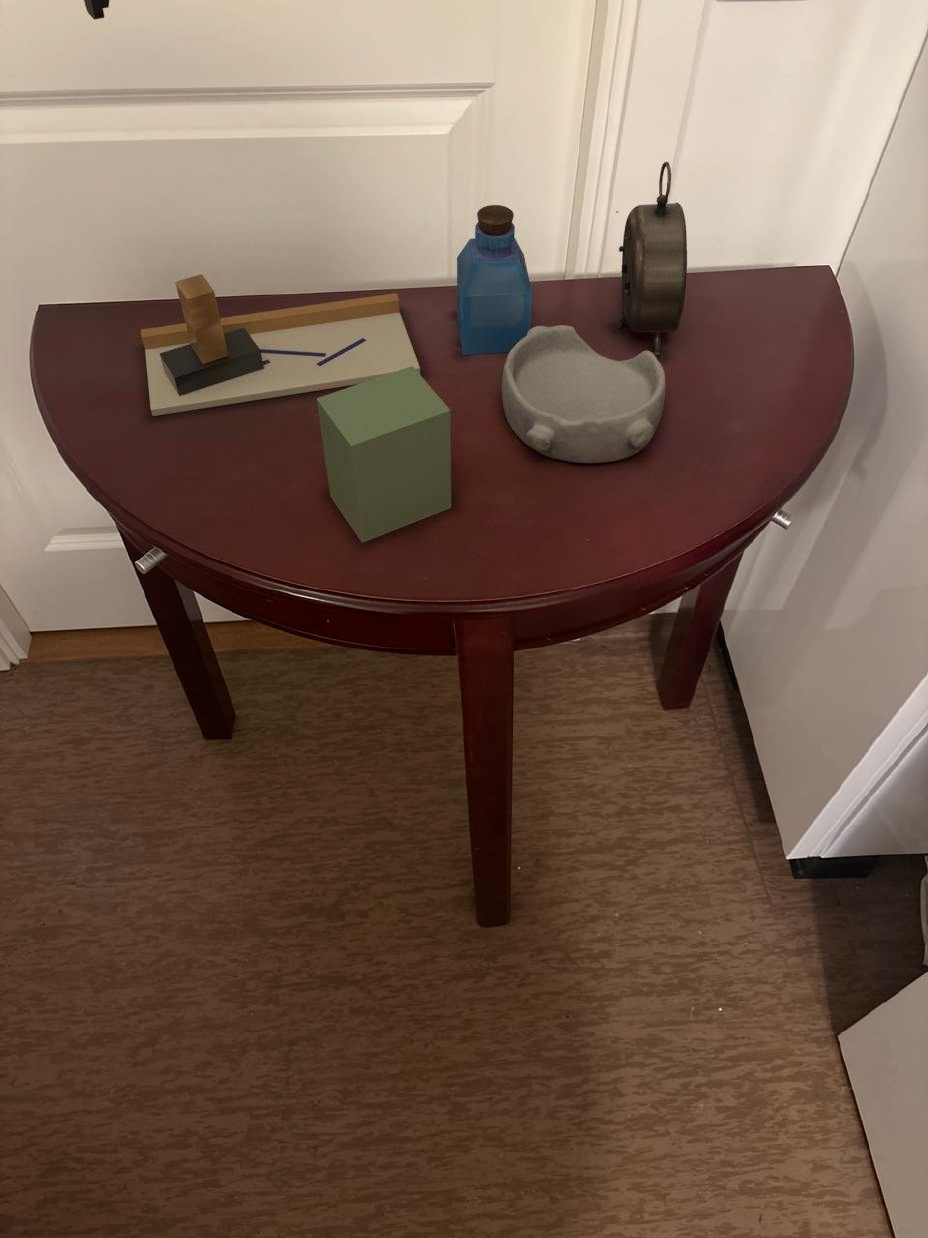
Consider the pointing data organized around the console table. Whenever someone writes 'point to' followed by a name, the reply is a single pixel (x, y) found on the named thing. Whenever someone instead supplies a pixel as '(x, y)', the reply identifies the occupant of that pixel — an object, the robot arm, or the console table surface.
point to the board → (292, 352)
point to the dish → (580, 397)
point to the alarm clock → (654, 266)
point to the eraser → (207, 343)
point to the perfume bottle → (492, 286)
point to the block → (387, 452)
